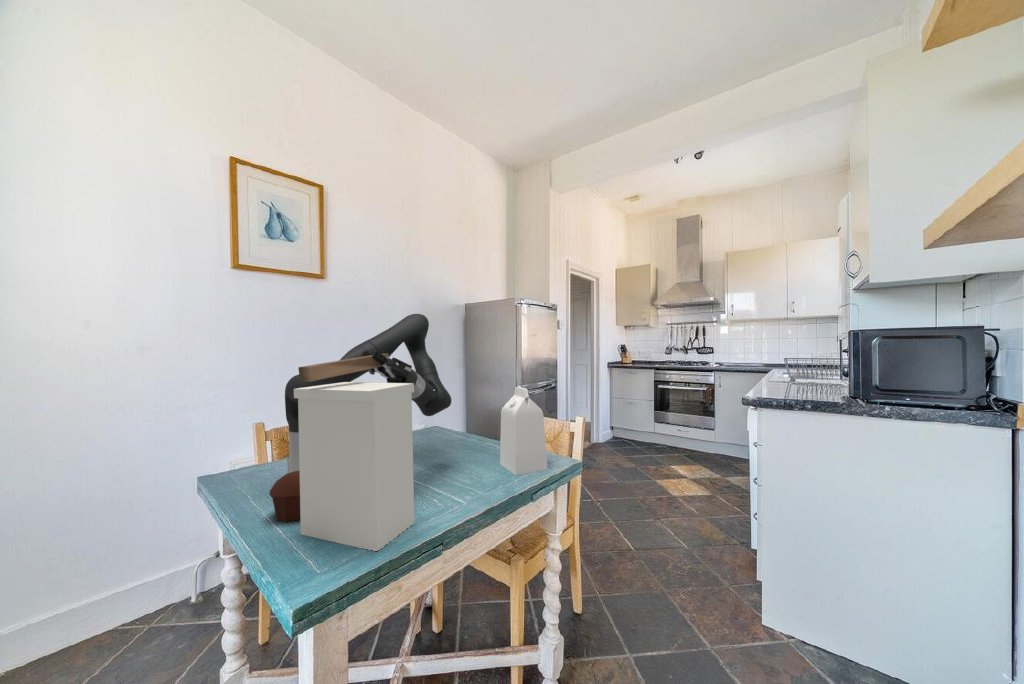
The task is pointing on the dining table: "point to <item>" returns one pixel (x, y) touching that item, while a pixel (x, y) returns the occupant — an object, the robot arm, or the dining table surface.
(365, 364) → the walnut handle
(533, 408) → the milk
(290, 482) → the muffin
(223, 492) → the dining table surface
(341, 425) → the tall stand
